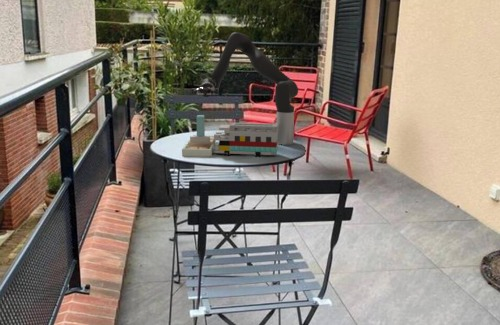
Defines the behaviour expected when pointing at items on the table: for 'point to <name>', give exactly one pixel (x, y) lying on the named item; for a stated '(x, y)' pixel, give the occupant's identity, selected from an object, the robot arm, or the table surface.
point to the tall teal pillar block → (200, 131)
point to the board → (199, 144)
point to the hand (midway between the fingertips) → (203, 92)
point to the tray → (197, 151)
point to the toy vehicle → (247, 139)
